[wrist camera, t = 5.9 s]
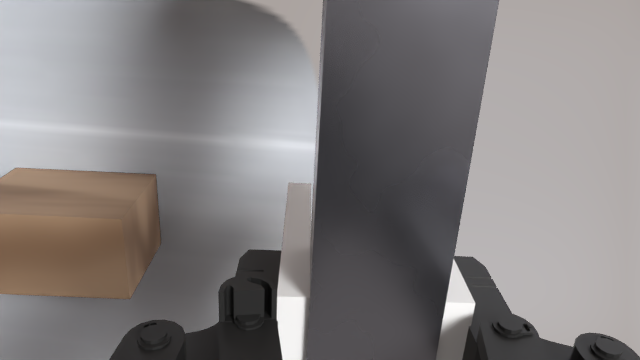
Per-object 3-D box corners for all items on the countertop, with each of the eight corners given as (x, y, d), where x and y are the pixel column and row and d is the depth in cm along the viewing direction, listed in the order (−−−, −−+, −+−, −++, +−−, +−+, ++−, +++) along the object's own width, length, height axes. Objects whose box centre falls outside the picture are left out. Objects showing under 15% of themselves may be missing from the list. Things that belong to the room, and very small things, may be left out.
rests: (161, 243, 28) (129, 299, 23) (28, 237, 28) (-30, 292, 23) (117, -343, 19) (52, -445, 14) (-81, -358, 18) (-216, -466, 14)
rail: (370, 604, 20) (378, 686, 17) (291, 603, 19) (288, 685, 17) (519, -392, 9) (589, -511, 7) (344, -406, 9) (355, -533, 7)
